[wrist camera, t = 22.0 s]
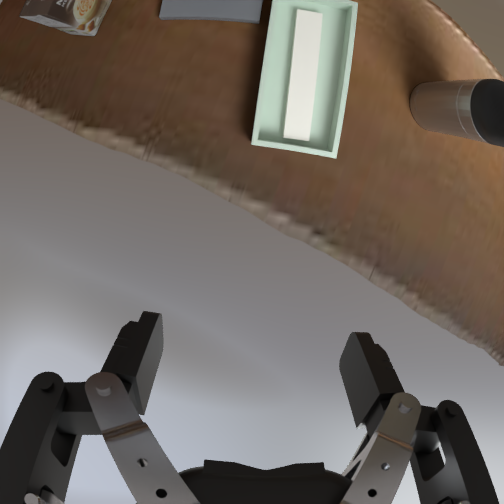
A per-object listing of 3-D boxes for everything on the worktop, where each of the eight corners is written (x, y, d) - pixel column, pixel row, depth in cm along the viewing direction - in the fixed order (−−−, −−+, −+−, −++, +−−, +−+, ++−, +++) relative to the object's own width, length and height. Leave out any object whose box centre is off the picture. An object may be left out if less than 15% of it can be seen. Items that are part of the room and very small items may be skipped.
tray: (350, 10, 36) (357, 3, 33) (329, 155, 48) (336, 158, 44) (273, -7, 35) (275, -16, 32) (251, 142, 47) (251, 144, 43)
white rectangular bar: (320, 16, 37) (322, 13, 35) (307, 140, 46) (309, 141, 44) (295, 11, 36) (297, 9, 35) (282, 137, 46) (283, 137, 44)
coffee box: (96, 36, 37) (45, 17, 23) (69, 34, 36) (17, 18, 22) (116, -7, 34) (74, -39, 19) (88, -8, 33) (43, -35, 18)
